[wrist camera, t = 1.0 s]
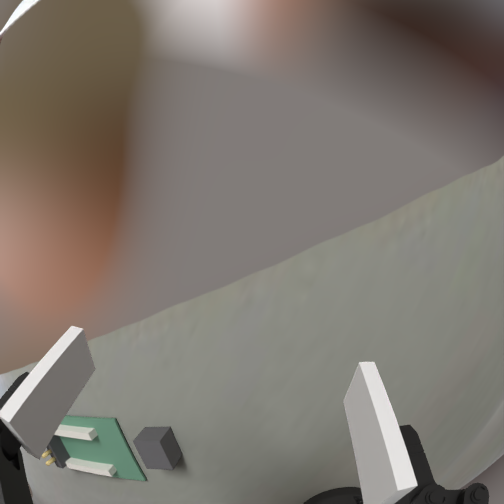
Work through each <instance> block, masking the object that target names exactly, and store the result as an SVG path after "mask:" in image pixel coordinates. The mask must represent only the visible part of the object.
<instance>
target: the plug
mask: <svg viewBox="0 0 504 504" xmlns="http://www.w3.org/2000/svg"><path fill="white" fill-rule="evenodd" d="M133 442H134V444H135V446H136V448H137V450H138V452H139V454H140V456H141V458H142V460H143V462H144V464H145V466H146V468H147V469H166V470H173V469H174V467H175V466H176V464H177V462H178V460H179V459H180V457H181V455H182V452H181V450H180V448H179V446H178V444H177V441H176V439H175V437H174V434H173V432H172V430H171V427H145V428H144V429H143V430H142V431H141V433H140V434H139V435H138V436H137V437H136V438H135V439H134V440H133Z"/></svg>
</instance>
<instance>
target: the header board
mask: <svg viewBox="0 0 504 504" xmlns="http://www.w3.org/2000/svg"><path fill="white" fill-rule="evenodd" d="M46 448H47V449H48V450H47V451H46V452H45V453H43V454H42V457H43V458H45V457H47V456H48V455H49V454H50V455H51V457H52V458H51V459H50V460H48V461H47V462H46V465H48V466H49V465H50V464H52V463H53V462H55V464H56V465H57V467H60V468H64V467H65V466H66V465H67V466H68V468H72V469H76V470H80V471H84V472H89V473H94V474H99V475H105V476H111V477H117V478H125V479H133V480H142V481H146V477H145V476H144V474H143V472H142V470H141V469H140V467H139V465H138V463H137V461H136V459H135V458H134V456H133V454H132V452H131V450H130V448H129V446H128V444H127V442H126V440H125V438H124V435H123V433H122V431H121V429H120V427H119V425H118V422H117V420H116V418H95V417H79V416H67V415H66V416H65V417H64V419H63V420H62V422H61V424H60V425H59V427H58V429H57V430H56V432H55V434H54V435H53V437H52V439H51V440H50V442H49V444H48V446H47V447H46Z"/></svg>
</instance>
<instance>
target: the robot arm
mask: <svg viewBox="0 0 504 504" xmlns="http://www.w3.org/2000/svg"><path fill="white" fill-rule="evenodd" d="M94 371H95V366H94V363H93V360H92V357H91V354H90V350H89V347H88V344H87V340H86V337H85V333H84V330H83V329H81V328H78V327H74V326H71V327H70V328H69V329H68V331H67V332H66V333H65V334H64V335H63V336H62V337H61V338H60V339H59V341H57V343H56V344H55V345H54V346H53V347H52V348H51V349H50V350H49V352H48V353H47V354H46V355H45V356H44V357H43V358H42V360H41V361H40V362H39V363H38V364H37V365H36V367H35V368H34V369H33V370H32V371H31V373H28V372H25V373H24V374H22V375H21V376H19V377H18V378H17V379H16V380H15V382H14V383H13V385H11V386H10V388H9V389H8V391H6V393H5V394H4V395H3V396H2V398H1V399H0V504H33V501H32V498H31V494H30V490H29V486H28V482H27V478H26V473H25V468H24V463H23V458H22V453H21V450H20V447H21V445H22V447H23V448H24V449H25V450H26V451H27V452H28V453H29V454H31V455H33V456H34V457H36V458H38V459H39V460H40V458H41V456H42V454H43V453H44V451H45V449H46V447H47V446H48V444H49V442H50V440H51V439H52V437H53V435H54V434H55V432H56V430H57V429H58V427H59V425H60V424H61V422H62V420H63V419H64V417H65V416H66V414H67V412H68V411H69V409H70V408H71V406H72V404H73V403H74V401H75V400H76V398H77V397H78V395H79V393H80V392H81V390H82V389H83V387H84V386H85V384H86V383H87V381H88V380H89V378H90V377H91V375H92V374H93V372H94ZM343 402H344V407H345V411H346V416H347V420H348V425H349V429H350V434H351V439H352V444H353V449H354V454H355V459H356V464H357V469H358V475H359V480H360V486H361V488H356V487H345V488H338V489H333V490H329V491H326V492H323V493H320V494H318V495H316V496H314V497H312V498H310V499H309V500H307V501H306V502H305V503H304V504H488V501H489V493H488V490H487V487H486V486H485V485H483V484H481V483H474V484H472V485H470V486H469V487H468V488H466V489H463V490H445V488H444V487H442V486H440V485H437V484H436V483H435V481H434V479H433V476H432V473H431V470H430V467H429V464H428V461H427V458H426V455H425V453H424V450H423V447H422V445H421V442H420V439H419V436H418V434H417V432H416V431H415V430H414V429H413V428H412V427H411V425H404V426H398V423H397V420H396V417H395V415H394V412H393V409H392V406H391V404H390V401H389V398H388V396H387V393H386V391H385V388H384V385H383V383H382V380H381V378H380V375H379V373H378V370H377V368H376V365H375V363H374V362H359V364H358V366H357V369H356V371H355V374H354V376H353V379H352V381H351V384H350V386H349V389H348V391H347V393H346V396H345V398H344V400H343Z"/></svg>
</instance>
